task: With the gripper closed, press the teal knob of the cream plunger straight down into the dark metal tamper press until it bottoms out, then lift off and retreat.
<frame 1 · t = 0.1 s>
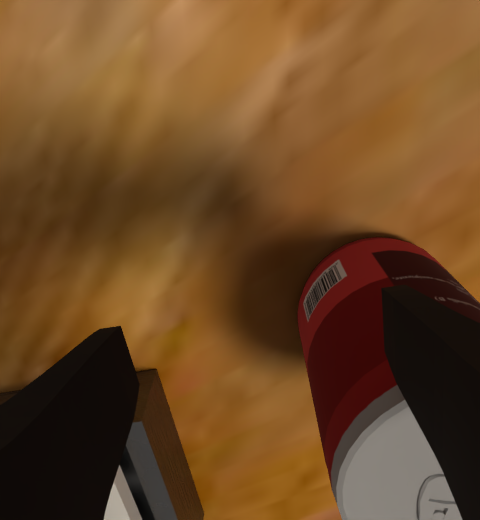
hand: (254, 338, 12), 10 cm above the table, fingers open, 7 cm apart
press housing: (89, 460, 28), on the table
canned food: (367, 301, 23), on the table
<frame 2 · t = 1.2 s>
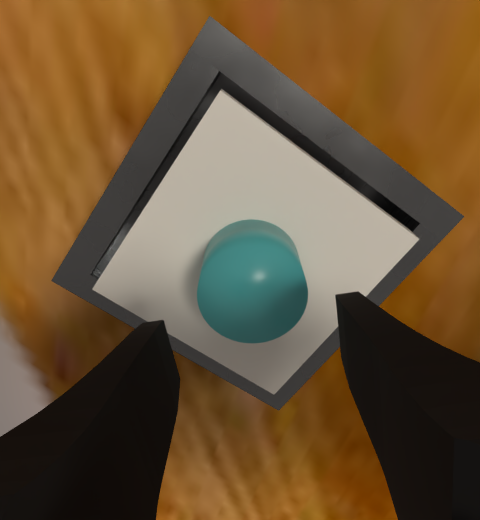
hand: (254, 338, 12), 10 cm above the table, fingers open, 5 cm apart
press housing: (249, 218, 22), on the table
plunger: (251, 273, 16), point 6 cm above the table, slide at 0.0 cm
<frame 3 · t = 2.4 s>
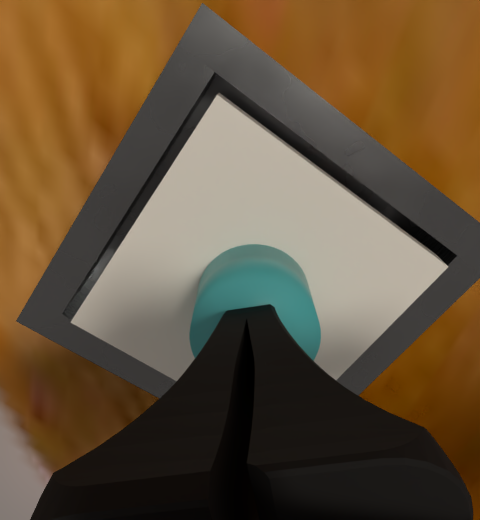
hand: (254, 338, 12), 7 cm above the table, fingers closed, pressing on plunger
press housing: (251, 242, 19), on the table
plunger: (253, 306, 14), point 5 cm above the table, slide at 0.8 cm, touching gripper
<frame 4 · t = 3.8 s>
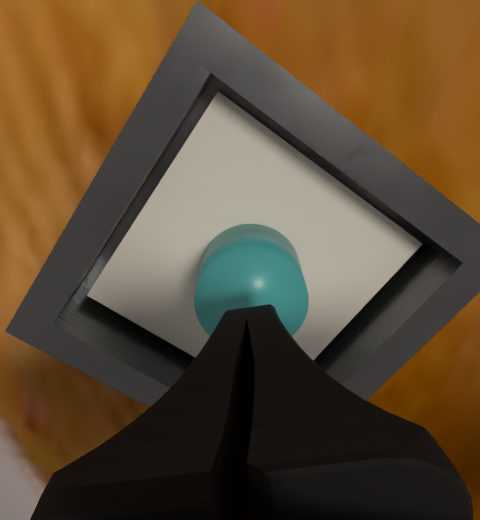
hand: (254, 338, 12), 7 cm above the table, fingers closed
press housing: (249, 248, 18), on the table
plunger: (250, 279, 16), point 3 cm above the table, slide at 3.4 cm
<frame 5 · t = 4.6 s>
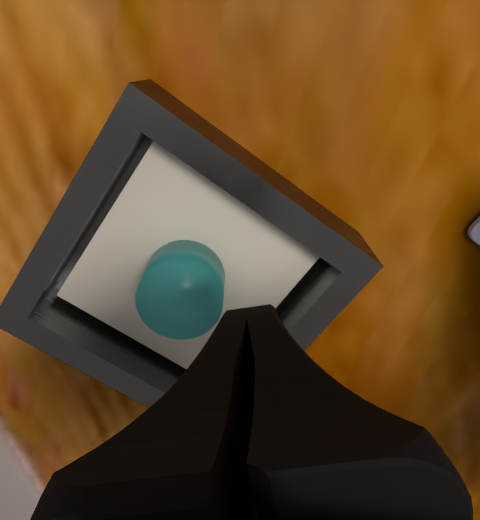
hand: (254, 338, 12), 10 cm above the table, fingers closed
press housing: (190, 258, 22), on the table
plunger: (184, 283, 20), point 3 cm above the table, slide at 3.4 cm
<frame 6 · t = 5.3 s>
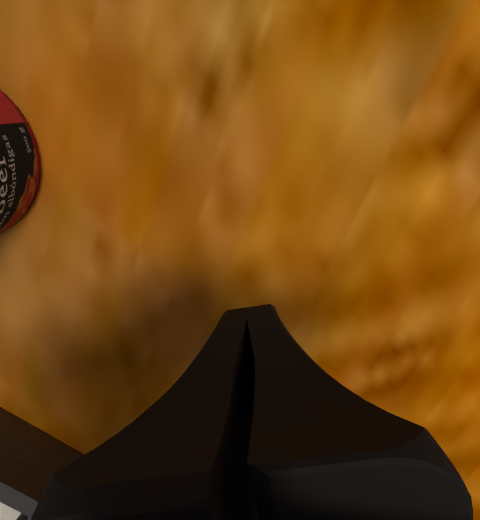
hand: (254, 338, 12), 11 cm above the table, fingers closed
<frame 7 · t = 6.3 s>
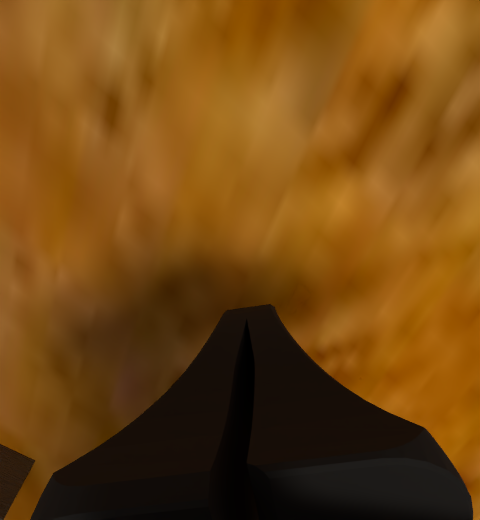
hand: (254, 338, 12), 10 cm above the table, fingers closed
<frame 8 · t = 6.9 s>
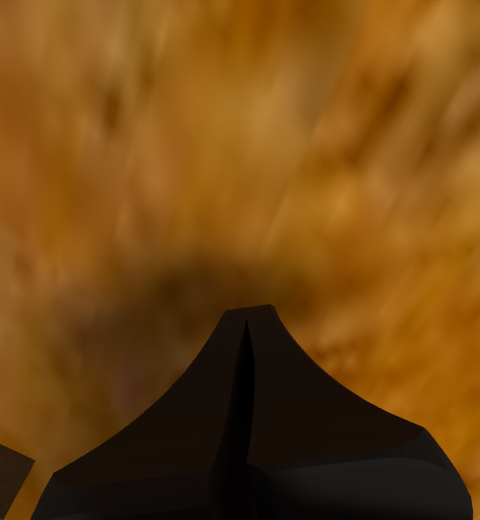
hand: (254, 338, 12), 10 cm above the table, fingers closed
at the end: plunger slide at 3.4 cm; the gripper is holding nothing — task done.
